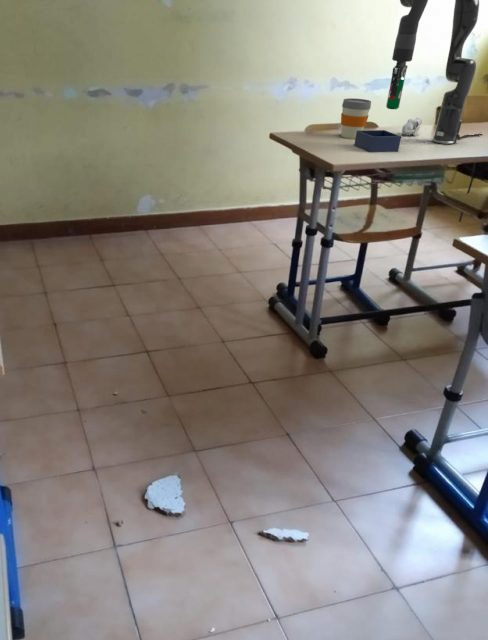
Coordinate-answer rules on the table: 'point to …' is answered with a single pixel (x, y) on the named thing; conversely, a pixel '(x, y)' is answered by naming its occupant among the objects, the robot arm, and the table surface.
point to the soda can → (395, 100)
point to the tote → (377, 141)
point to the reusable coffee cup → (354, 116)
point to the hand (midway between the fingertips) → (394, 94)
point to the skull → (411, 127)
